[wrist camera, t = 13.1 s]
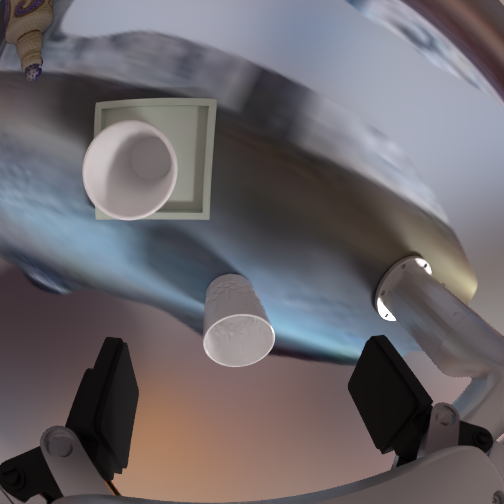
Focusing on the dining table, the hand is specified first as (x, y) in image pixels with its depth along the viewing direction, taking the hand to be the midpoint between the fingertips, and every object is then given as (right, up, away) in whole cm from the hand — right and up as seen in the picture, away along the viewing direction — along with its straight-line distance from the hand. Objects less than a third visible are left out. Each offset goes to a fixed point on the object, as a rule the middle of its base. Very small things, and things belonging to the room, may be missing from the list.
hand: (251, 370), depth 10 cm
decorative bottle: (-30, +37, +7) cm, 49 cm away
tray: (-11, +15, +20) cm, 27 cm away
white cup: (-3, -1, +29) cm, 29 cm away
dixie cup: (-11, +15, +19) cm, 27 cm away
